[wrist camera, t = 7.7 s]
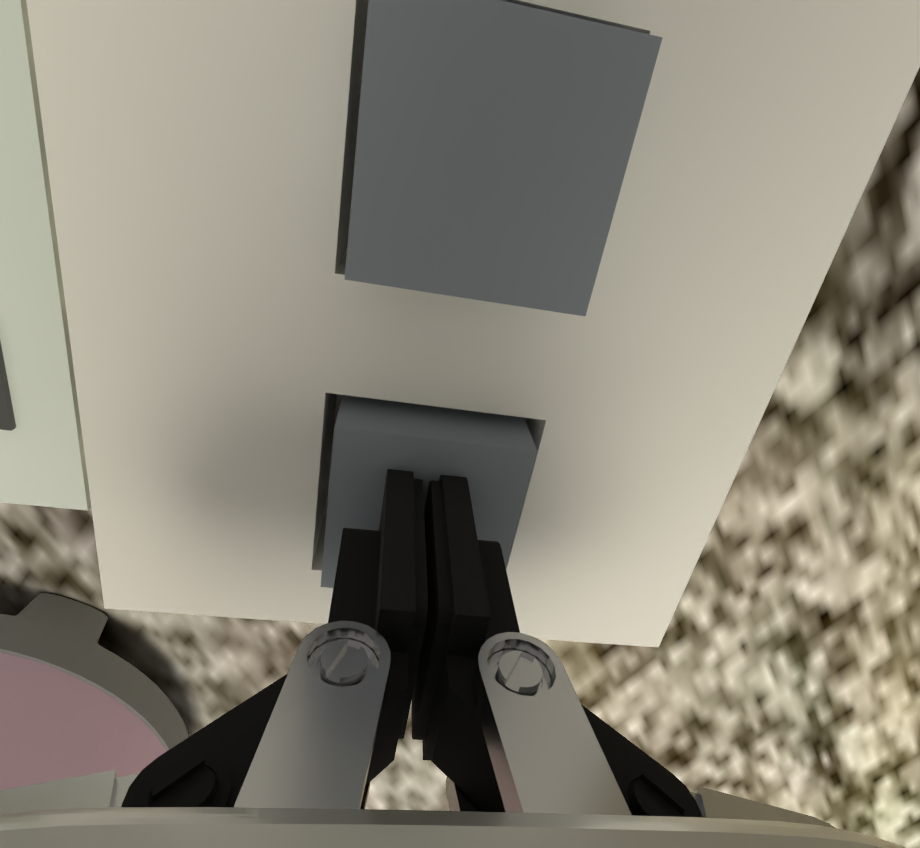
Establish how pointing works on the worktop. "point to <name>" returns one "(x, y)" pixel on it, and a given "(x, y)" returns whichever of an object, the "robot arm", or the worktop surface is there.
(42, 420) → the pattern card
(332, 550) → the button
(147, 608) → the button panel
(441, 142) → the middle button
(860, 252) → the worktop surface
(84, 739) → the blender
